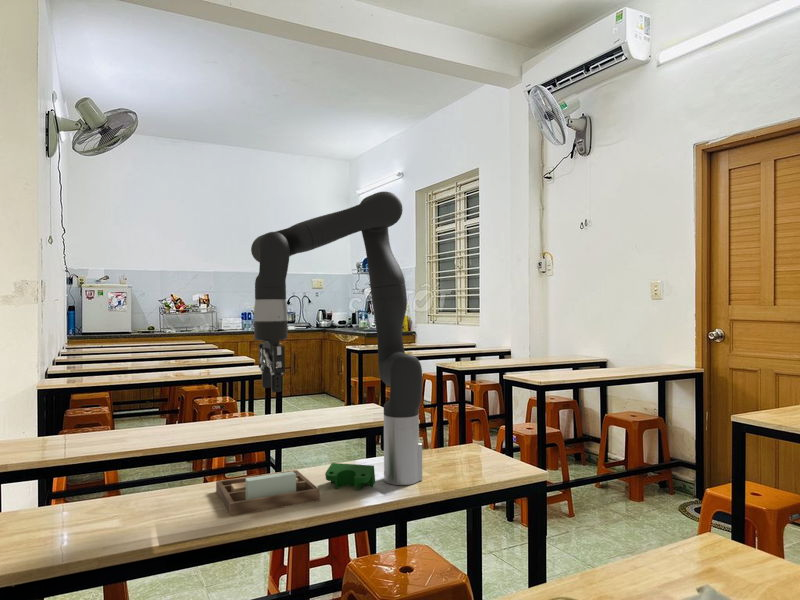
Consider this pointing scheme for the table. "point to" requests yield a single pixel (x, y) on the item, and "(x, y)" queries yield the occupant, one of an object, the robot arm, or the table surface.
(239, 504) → the brown wooden compartment tray
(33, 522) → the table surface
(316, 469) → the table surface
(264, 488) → the sheet
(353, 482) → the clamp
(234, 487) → the offcut
